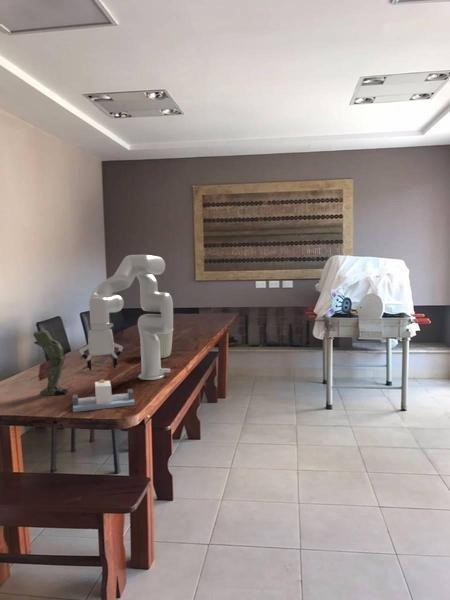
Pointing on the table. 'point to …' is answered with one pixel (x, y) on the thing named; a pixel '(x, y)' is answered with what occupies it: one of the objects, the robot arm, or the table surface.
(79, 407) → the board
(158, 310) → the robot arm
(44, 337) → the green creature figurine
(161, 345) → the canister
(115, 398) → the rail
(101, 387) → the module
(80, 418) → the table surface
